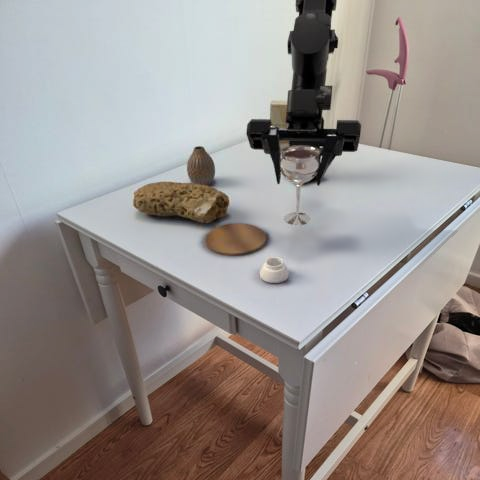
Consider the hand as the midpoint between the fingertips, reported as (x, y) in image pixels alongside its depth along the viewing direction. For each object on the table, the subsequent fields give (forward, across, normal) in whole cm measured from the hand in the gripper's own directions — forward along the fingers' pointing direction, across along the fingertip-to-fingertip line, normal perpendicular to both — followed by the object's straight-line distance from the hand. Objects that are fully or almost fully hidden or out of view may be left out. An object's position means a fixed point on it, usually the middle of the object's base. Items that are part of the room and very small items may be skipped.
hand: (297, 183), depth 71 cm
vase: (-11, -26, +30) cm, 42 cm away
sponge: (+1, -26, +17) cm, 32 cm away
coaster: (+8, -12, +10) cm, 18 cm away
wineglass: (+4, 0, +6) cm, 7 cm away
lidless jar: (+16, -2, +2) cm, 16 cm away
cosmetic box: (-32, -10, +51) cm, 61 cm away
